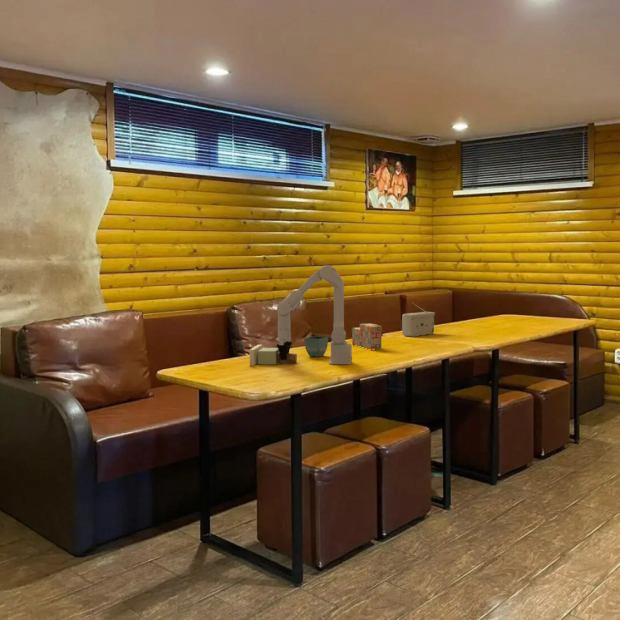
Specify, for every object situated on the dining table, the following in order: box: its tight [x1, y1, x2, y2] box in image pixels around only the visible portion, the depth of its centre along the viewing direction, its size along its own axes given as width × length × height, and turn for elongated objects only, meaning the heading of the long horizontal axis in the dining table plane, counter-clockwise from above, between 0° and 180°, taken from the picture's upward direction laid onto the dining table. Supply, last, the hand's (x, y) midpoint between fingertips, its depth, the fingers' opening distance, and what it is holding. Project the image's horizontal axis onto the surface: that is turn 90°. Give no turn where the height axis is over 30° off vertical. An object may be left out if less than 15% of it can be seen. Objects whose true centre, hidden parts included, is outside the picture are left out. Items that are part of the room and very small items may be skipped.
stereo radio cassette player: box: [401, 302, 436, 338], centre depth 390 cm, size 21×8×20 cm, turn 129°
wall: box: [249, 344, 263, 366], centre depth 303 cm, size 2×16×7 cm, turn 170°
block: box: [257, 347, 279, 365], centre depth 302 cm, size 8×10×6 cm
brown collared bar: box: [275, 352, 298, 365], centre depth 301 cm, size 13×7×5 cm, turn 81°
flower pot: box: [303, 335, 329, 358], centre depth 318 cm, size 9×9×9 cm
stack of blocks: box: [351, 323, 383, 350], centre depth 346 cm, size 21×6×12 cm, turn 23°
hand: (284, 358), depth 301 cm, fingers closed on brown collared bar, 4 cm apart
